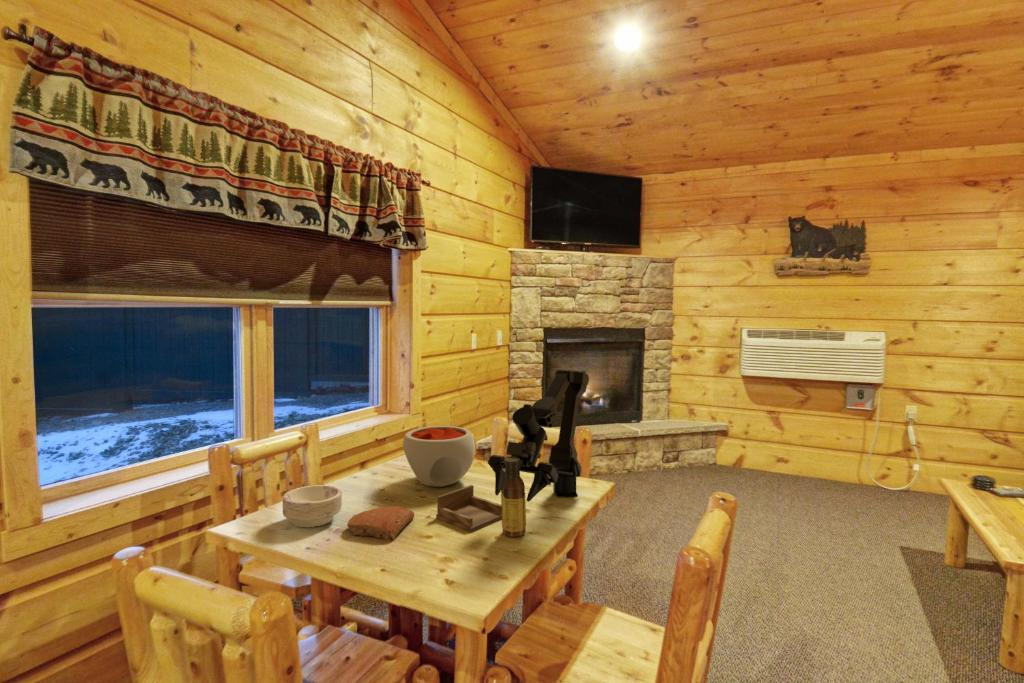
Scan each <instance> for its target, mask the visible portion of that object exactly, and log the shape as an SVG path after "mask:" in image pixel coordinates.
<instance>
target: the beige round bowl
mask: <svg viewBox="0 0 1024 683" xmlns="http://www.w3.org/2000/svg"><path fill="white" fill-rule="evenodd" d="M342 492H343V491H342V490H341V489H340V488H339V487H337V486H334V485H325V484H323V485H322V484H321V485H320V484H317V485H315V484H314V485H307V486H300V487H298V488H293V489H291V490H288V491H287V492H286V493H285V494H283V496H282V515H283V517H285V519H288V520H290V522H292V524H293V525H294V526H296V527H298V526H299V527H298V528H303V527H312V528H316V527H315V526H318V527H321V526H320V525H322V526H324V525H323V524H325V525H327V524H328V523H330V522H331V521H332V520H333V519H334V517H335V516H336V515H337V514H339V513H340V512H341V510H342V506H343V502H342V500H343V497H342V496H343V493H342ZM326 523H327V524H326Z"/></svg>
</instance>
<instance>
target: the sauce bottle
mask: <svg viewBox="0 0 1024 683" xmlns="http://www.w3.org/2000/svg"><path fill="white" fill-rule="evenodd" d="M504 464H505V478H504V481H503V484H502V487H501V491H500V496H501V497H500V500H501V501H500V502H501V504H500V505H501V506H502V507H501V508H502V519H501V527H502V533H503V534H504V535H505V536H506V537H510V538H518V537H521V536H523V535H525V533H526V528H527V513H526V512H527V511H526V509H527V508H526V492H525V491H526V490H525V488H526V486H525V483H524V481H523V479H522V477H521V471H520V467H519V465H520V459H519V458H518V457H511V456H509V457H505V460H504Z"/></svg>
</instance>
